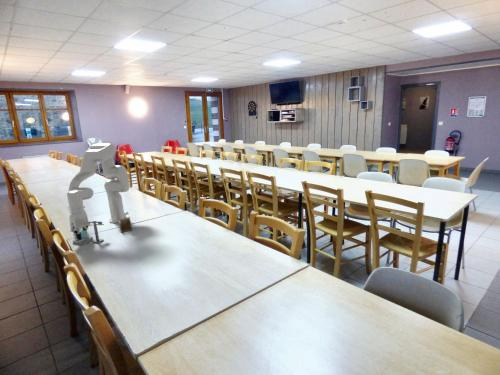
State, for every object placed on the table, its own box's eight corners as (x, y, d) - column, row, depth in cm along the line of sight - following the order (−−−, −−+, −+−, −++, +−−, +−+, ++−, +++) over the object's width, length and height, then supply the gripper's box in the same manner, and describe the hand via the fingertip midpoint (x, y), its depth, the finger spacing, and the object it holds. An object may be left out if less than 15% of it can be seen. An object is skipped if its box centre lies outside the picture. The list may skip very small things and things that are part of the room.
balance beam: (82, 225, 183) (82, 221, 183) (100, 224, 195) (100, 220, 196) (88, 225, 181) (88, 221, 182) (105, 225, 194) (105, 221, 194)
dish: (83, 238, 198) (83, 236, 198) (93, 239, 195) (92, 237, 195) (73, 243, 191) (72, 241, 190) (82, 244, 188) (82, 242, 188)
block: (83, 236, 195) (81, 230, 194) (87, 236, 193) (85, 230, 193) (78, 239, 191) (76, 233, 190) (82, 238, 189) (80, 232, 189)
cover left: (121, 232, 205) (120, 229, 211) (132, 230, 208) (131, 227, 214) (119, 223, 204) (118, 220, 210) (130, 221, 207) (129, 218, 213)
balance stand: (92, 242, 190) (89, 224, 188) (97, 240, 194) (94, 222, 191) (98, 243, 189) (95, 225, 186) (103, 240, 192) (100, 223, 190)
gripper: (83, 206, 197) (88, 232, 201) (60, 214, 182) (66, 242, 186) (92, 206, 195) (97, 233, 199) (70, 214, 179) (75, 243, 183)
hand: (82, 237), depth 192 cm, fingers closed on block, 3 cm apart
